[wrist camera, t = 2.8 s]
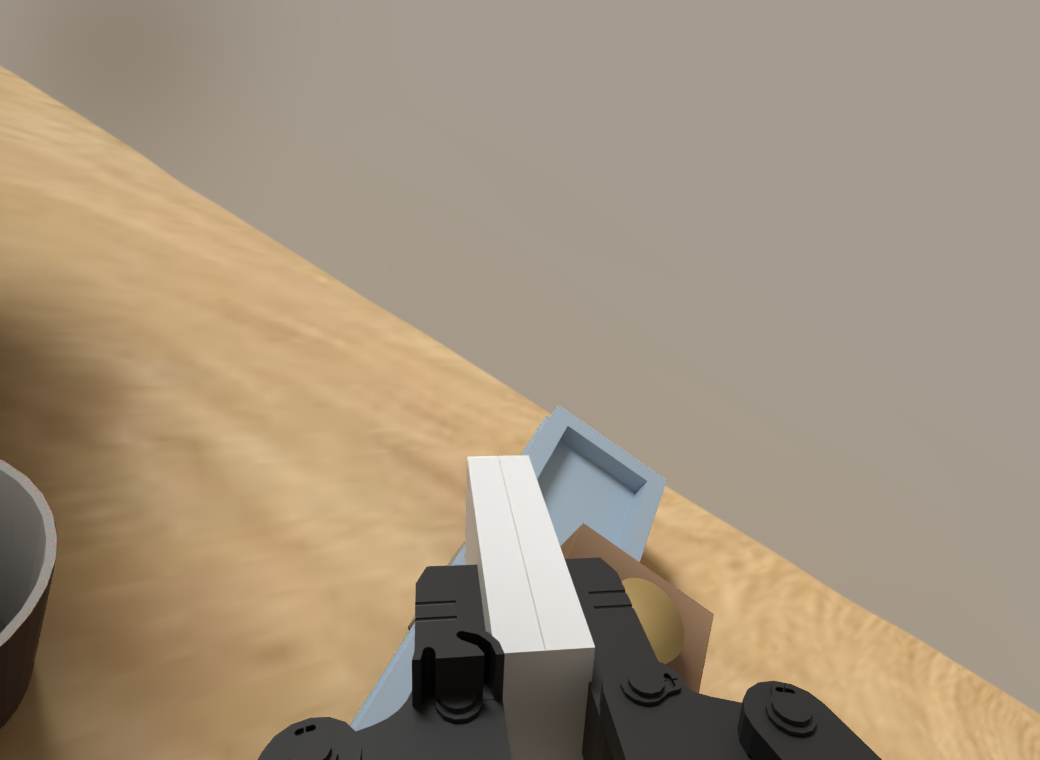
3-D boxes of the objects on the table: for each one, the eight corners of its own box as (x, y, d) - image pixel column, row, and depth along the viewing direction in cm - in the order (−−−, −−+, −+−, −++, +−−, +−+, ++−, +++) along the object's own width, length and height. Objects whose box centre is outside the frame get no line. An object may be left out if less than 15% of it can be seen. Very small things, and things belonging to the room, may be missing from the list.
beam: (455, 970, 26) (514, 962, 22) (273, 838, 26) (302, 808, 22) (624, 524, 46) (669, 481, 42) (520, 451, 46) (556, 403, 42)
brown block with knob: (485, 854, 25) (707, 758, 16) (380, 777, 25) (540, 640, 16) (533, 732, 29) (733, 600, 20) (441, 667, 29) (599, 506, 20)
